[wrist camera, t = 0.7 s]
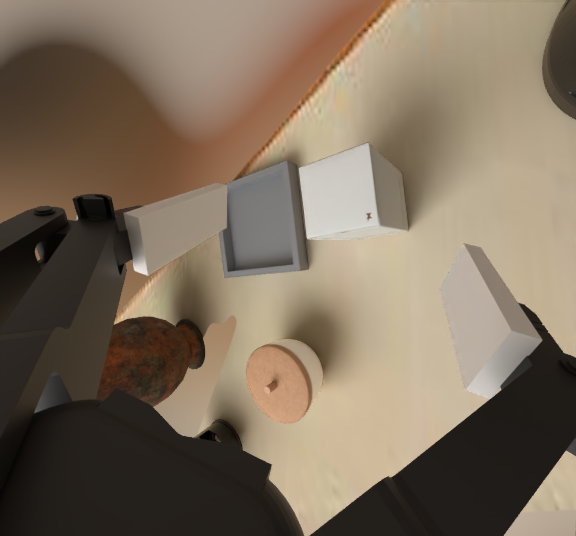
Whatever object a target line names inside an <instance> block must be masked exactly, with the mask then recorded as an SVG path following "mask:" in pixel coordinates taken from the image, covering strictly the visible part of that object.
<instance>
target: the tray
mask: <svg viewBox="0 0 576 536" xmlns="http://www.w3.org/2000/svg"><path fill="white" fill-rule="evenodd" d="M224 185H227V228H226V229H224V230H222V231H221V232H219V238H220V246H221V254H222V262H223V270H224V278H228V277H239V276H249V275H260V274H271V273H281V272H292V271H301V270H307V269H308V260H307V252H306V243H305V235H304V226H303V218H302V209H301V201H300V192H299V184H298V175H297V167H296V164H294V163H292V162H289V161H284V162H282V163H279V164H276V165H274V166H271V167H269V168H266V169H263V170H261V171H258V172H255V173H253V174H250V175H248V176H245V177H242V178H240V179H237V180H235V181H232V182H229V183H227V184H224Z"/></svg>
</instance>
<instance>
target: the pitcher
mask: <svg viewBox="0 0 576 536" xmlns="http://www.w3.org/2000/svg"><path fill="white" fill-rule="evenodd" d="M204 359H205V345H204V341H203V338H202V335H201V333H200V331H199V329H198V328H197V326H196V325H195V324H194V323H193V322H191V321H189V320H187V319H183V320H181V321H179V322H178V323H177V325H176V327H175V326H174V325H172V324H171V323H169V322H167V321H166V320H163V319H159V318H155V317H145V316H144V317H138V318H131V319H126V320H124V321H122V322H120V323H117V324H115V325H114V326H113V330H112V334H111V338H110V342H109V346H108V350H107V355H106V359H105V363H104V367H103V371H102V375H101V380H100V384H99V388H98V392H97V398H96V399H106V398H107V397H108V396H109V395H110V394H111V393H112V392H113V391H114V390H115V389H116V388H118V389H120V390H122V391H124V392H126V393H128V394H130V395H132V396H134V397H136V398H138V399H140V400H142V401H144V402H146V403H148V404H150V405H151V406H152V407H154V406H156V405H157V404H159V403H160V402H162V401H163V400H165V399H166V398H168V397H169V396H170V395H171V394H172V393H173V392H174V390H175V389H176V388H177V387H178V385H179V384H180V383H181V382H182V380H183V378H184V376H185V374H186V371H187V369H188V367H189V368H191V369H198V368H199V367H201V366H202V364H203V362H204Z"/></svg>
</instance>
